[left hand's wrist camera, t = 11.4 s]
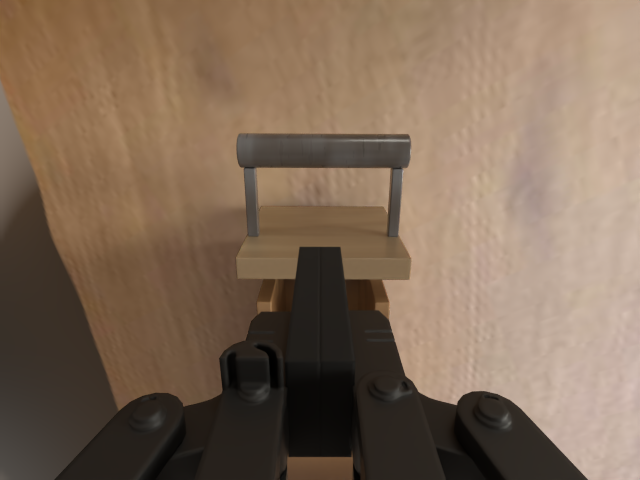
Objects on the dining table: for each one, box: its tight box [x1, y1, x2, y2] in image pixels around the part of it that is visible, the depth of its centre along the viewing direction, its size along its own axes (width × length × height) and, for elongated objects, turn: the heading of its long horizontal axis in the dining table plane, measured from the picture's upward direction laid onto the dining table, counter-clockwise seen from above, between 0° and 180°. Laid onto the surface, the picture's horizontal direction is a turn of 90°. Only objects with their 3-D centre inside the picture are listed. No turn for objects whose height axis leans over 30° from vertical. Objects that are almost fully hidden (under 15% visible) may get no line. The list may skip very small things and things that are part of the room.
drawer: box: [236, 133, 412, 320], centre depth 26 cm, size 23×9×10 cm, turn 0°
